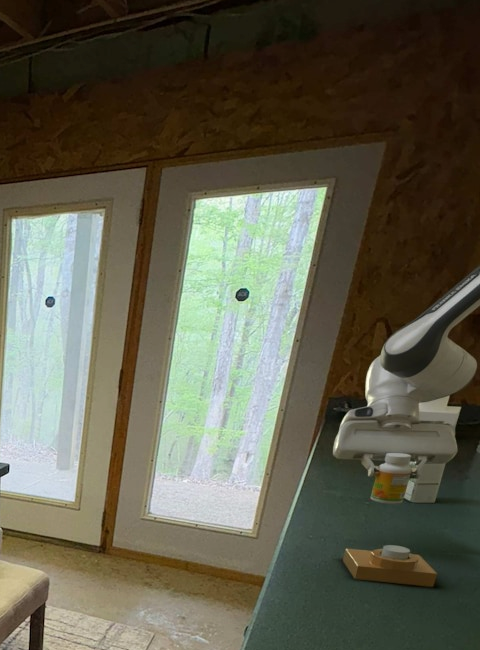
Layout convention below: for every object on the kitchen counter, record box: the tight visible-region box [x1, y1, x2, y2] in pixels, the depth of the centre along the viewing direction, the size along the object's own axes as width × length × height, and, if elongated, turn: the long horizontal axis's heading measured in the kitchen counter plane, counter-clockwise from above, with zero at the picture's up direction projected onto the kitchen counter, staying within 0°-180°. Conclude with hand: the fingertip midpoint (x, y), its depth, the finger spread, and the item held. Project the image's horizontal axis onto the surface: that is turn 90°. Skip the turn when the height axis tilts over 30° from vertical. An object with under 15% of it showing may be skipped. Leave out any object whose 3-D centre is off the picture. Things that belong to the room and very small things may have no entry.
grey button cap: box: [381, 544, 411, 560], centre depth 118 cm, size 4×4×2 cm
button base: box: [342, 548, 438, 588], centre depth 120 cm, size 12×10×5 cm
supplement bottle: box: [370, 453, 411, 505], centre depth 128 cm, size 5×5×10 cm
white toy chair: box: [419, 395, 462, 428], centre depth 235 cm, size 19×19×30 cm
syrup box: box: [403, 462, 447, 504], centre depth 162 cm, size 6×6×14 cm
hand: (393, 476), depth 128 cm, fingers closed on supplement bottle, 5 cm apart
